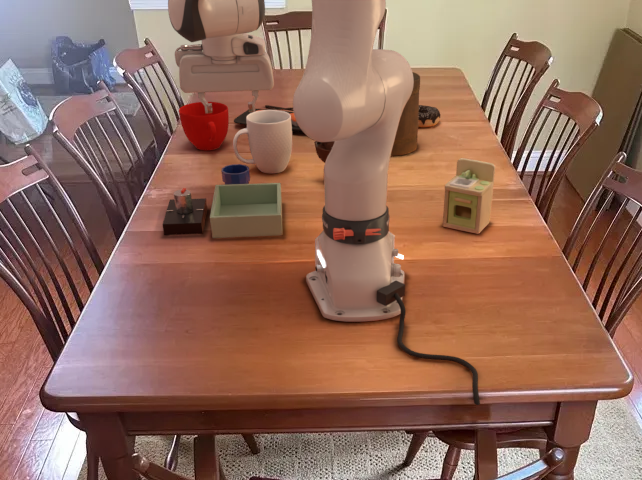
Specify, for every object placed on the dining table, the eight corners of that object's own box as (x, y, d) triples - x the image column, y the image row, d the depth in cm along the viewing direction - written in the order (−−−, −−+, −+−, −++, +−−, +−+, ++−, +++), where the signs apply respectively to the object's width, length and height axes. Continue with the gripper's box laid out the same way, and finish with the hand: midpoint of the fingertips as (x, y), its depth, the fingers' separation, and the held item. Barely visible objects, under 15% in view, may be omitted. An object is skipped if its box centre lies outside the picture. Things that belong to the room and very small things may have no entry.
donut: (438, 116, 213) (439, 103, 210) (441, 129, 204) (442, 115, 201) (401, 116, 213) (402, 103, 211) (403, 129, 204) (404, 115, 201)
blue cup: (250, 196, 165) (248, 173, 162) (223, 197, 165) (220, 174, 161) (251, 186, 170) (249, 163, 167) (224, 187, 170) (222, 164, 166)
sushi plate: (230, 128, 205) (229, 114, 202) (271, 100, 227) (270, 87, 225) (324, 138, 197) (323, 124, 195) (356, 108, 220) (356, 95, 217)
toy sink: (440, 227, 152) (445, 167, 144) (453, 215, 157) (458, 156, 149) (477, 235, 148) (484, 175, 140) (489, 223, 153) (497, 163, 145)
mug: (239, 181, 173) (234, 126, 165) (232, 165, 181) (226, 113, 173) (298, 174, 176) (296, 120, 168) (288, 159, 184) (285, 107, 176)
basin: (282, 237, 148) (281, 214, 145) (212, 240, 147) (209, 217, 144) (281, 204, 162) (280, 182, 159) (218, 206, 161) (215, 184, 158)
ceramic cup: (192, 162, 183) (187, 122, 177) (179, 142, 195) (174, 104, 189) (241, 155, 187) (237, 116, 181) (225, 136, 199) (221, 99, 193)
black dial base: (203, 236, 149) (201, 222, 147) (164, 237, 148) (162, 223, 146) (207, 210, 159) (205, 197, 157) (171, 212, 158) (169, 198, 156)
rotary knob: (190, 214, 150) (187, 195, 147) (174, 213, 150) (170, 194, 148) (195, 207, 153) (192, 188, 150) (179, 206, 153) (176, 187, 150)
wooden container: (406, 136, 199) (410, 51, 185) (424, 153, 188) (430, 65, 174) (356, 140, 196) (356, 55, 182) (371, 158, 185) (372, 69, 171)
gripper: (171, 48, 144) (181, 117, 153) (271, 45, 146) (275, 114, 154) (174, 41, 149) (184, 109, 158) (271, 39, 151) (276, 106, 159)
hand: (230, 112), depth 156 cm, fingers open, 8 cm apart
